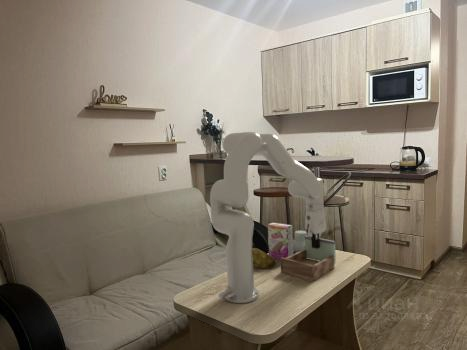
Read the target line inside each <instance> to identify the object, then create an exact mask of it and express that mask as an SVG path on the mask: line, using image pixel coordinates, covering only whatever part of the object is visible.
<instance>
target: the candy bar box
mask: <svg viewBox="0 0 467 350" xmlns="http://www.w3.org/2000/svg"><path fill="white" fill-rule="evenodd" d="M293 233H294V232H293V225H291V224H285V223H279V222H271V223H268V224H267V240H268V241H267V242H268V243H267V244H268V255H270V256H272V257H273V258H274V259H275V260H279V261H281V260H280V258H281V257H283V258H286V257H289V256H291V255H293V254H294V251H293V240H294V237H293V235H294V234H293Z"/></svg>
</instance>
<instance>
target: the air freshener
mask: <svg viewBox="0 0 467 350" xmlns="http://www.w3.org/2000/svg"><path fill="white" fill-rule="evenodd" d="M305 236H308V233H306V230H295V232H294V239H293V253H294V252H295V253H297V252H299V251H301V250H304V249H305Z"/></svg>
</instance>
